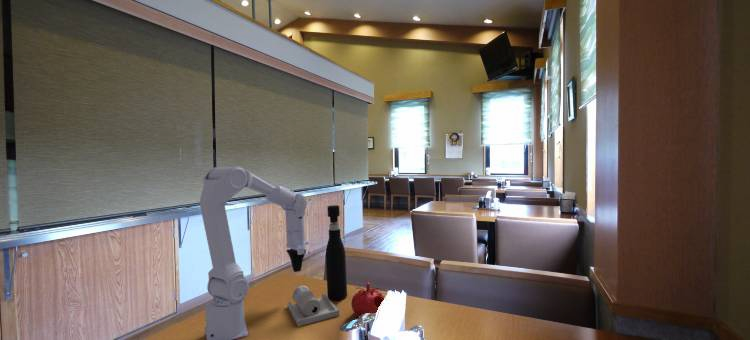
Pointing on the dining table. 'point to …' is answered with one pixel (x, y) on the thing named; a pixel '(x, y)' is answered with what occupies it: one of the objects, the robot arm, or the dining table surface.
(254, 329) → the dining table surface
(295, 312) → the tray
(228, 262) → the robot arm
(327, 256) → the black bottle
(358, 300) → the pomegranate
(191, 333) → the dining table surface
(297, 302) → the energy drink
